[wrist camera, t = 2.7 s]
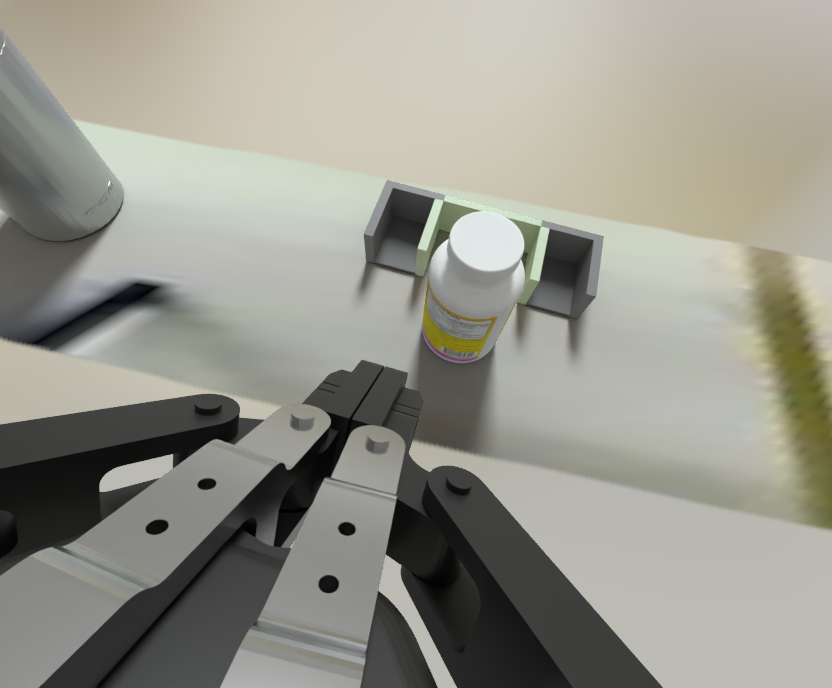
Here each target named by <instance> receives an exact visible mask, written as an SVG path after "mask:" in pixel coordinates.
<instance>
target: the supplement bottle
mask: <svg viewBox="0 0 832 688" xmlns="http://www.w3.org/2000/svg"><path fill="white" fill-rule="evenodd" d="M523 252H524V239H523V236H522V233H521V231H520V230H519V228H518V227H517V226H516V225H515V224H514V223H513V222H512V221H511V220H509V219H508V218H506V217H504V216H502V215H500V214H497V213H493V212H487V211H479V212H473V213H470V214H467V215H465V216H463V217H461V218H460V219H459V220H458V221H457V222H456V223H455V224H454V226H453V227H452V229H451V232H450V235H449V239H447V240H446V241H445V242H443V243H442V244H441V245H440V246H439V247H438V249H437V250H436V251H435V253H434V255H433V257H432V259H431V263H430V267H429V274H428V283H427V291H426V298H425V306H424V314H423V323H422V330H423V336H424V339H425V341H426V343H427V345H428V346H429V348H430V349H431V350H432V351H433V352H434V353H435V354H436V355H438V356H439V357H441V358H443V359H445V360H447V361H450V362H454V363H469V362H473V361H476V360H479V359H481V358H482V357H484V356H485V355H486V354H487V353H488V352H489V351H490V350H491V349H492V347H493V346H494V344H495V343H496V341H497V339H498V337H499V335H500V333H501V331H502V329H503V327H504V325H505V323H506V321H507V319H508V317H509V316H510V314H511V312H512V310H513V308H514V306H515V304H516V302H517V301H518V299H519V297H520V295H521V292H522V290H523V287H524V282H525V271H524V266H523V263H522V260H521V258H522V255H523Z"/></svg>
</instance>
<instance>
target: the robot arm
mask: <svg viewBox="0 0 832 688" xmlns="http://www.w3.org/2000/svg"><path fill="white" fill-rule="evenodd" d="M122 200H123V189H122V186H121V184H120V182H119V181H118V179H117V178H116V177H115V175H114V174H113V173H112V171H111V170H110V169H109V167H108V166H107V165H106V163H105V162H104V161H103V160H102V158H101V157H100V156H99V154H98V153H97V152H96V150H95V149H94V147H93V146H92V145H91V143H90V142H89V141H88V140H87V138H86V137H85V136H84V134H83V133H82V132H81V130H80V129H79V128H78V127H77V125H76V124H75V123H74V121H73V120H72V119H71V117H70V116H69V115H68V113H67V112H66V111H65V110H64V108H63V107H62V106H61V104H60V103H59V102H58V101H57V99H56V98H55V96H54V95H53V94H52V93H51V91H50V90H49V89H48V87H47V86H46V85H45V83H44V82H43V81H42V80H41V78H40V77H39V76H38V74H37V73H36V72H35V70H34V69H33V68H32V66H31V65H30V64H29V63H28V61H27V60H26V59H25V57H24V56H23V55H22V53H21V52H20V51H19V50H18V48H17V47H16V46H15V44H14V43H13V42H12V41H11V39H10V38H9V36H8V35H7V34H6V32H5V31H4V30H3V29H2V27H1V26H0V209H1V210H2V211H4V212H5V213H6V214H7V215H8V216H10V217H11V218H12V219H13V220H14V221H15V222H17V223H18V224H19V225H20V226H21V227H23V228H24V229H25V230H26V231H27V232H29V233H30V234H32V235H34V236H35V237H37V238H41V239H44V240H50V241H67V240H72V239H77V238H81V237H83V236H86V235H89V234H91V233H93V232H95V231H97V230H98V229H100V228H102V227H103V226H104V225H105V224H107V223H108V222H109V221H110V220H111V219H112V218H113V217H114V216H115V215H116V213H117V212H118V210H119V208H120V207H121V203H122ZM407 375H408V373H407V372H403V371H400V370H396V369H393V368H389V367H385V368H384V366H382V365H378V364H375V363H371V362H368V361H364V360H361V362H360V363H359V364H358V365H357V366H356V368H355V369H354V370H353V371H352V372H349V371H345V370H339V371H337V372H334V373H331V374H329V375H328V376H327V377H326V379H325V380H324V381H323V383H321V384H320V385H319V386H318V387H317V389H315V390H314V391H313V392H312V394H311V395H310V396H309V397H308V398H307V399H306V400H305V401H304V402H303V403H302V404H292V405H287V406H284V407H281V408H280V409H278V410H277V411H275V412H274V413H273V414H272V415H271V416H269V417H268V418H267V419H266V420H259V419H248V418H239V413H240V407H239V405H238V403H237V402H236V401H234V400H233V399H231V398H229V397H226V396H223V395H217V394H200V395H193V396H187V397H179V398H173V399H166V400H160V401H153V402H146V403H140V404H133V405H127V406H120V407H113V408H108V409H100V410H94V411H87V412H81V413H75V414H67V415H61V416H54V417H47V418H41V419H34V420H28V421H21V422H14V423H8V424H2V425H0V688H438V687H437V685H436V683H435V680H434V678H433V676H432V674H431V672H430V669H429V667H428V665H427V662H426V660H425V658H424V656H423V654H422V651H421V649H420V647H419V644H418V642H417V640H416V638H415V636H414V634H413V632H412V630H411V628H410V627H409V625H408V623H407V622H406V620H405V619H404V617H403V616H402V614H401V613H400V612H399V610H398V609H397V608H396V607H395V606H394V605H393V604H392V603H391V601H390V600H389V599H388V598H386V597H385V596H384V595H383V594H382V593H380V592H379V591H378V589H379V584H380V579H381V574H382V569H383V564H384V559H385V554H386V555H387V556H389V557H391V558H392V559H393V560H395V561H396V562H398V563H399V564H401V565H402V566H401V578H402V581H403V583H404V585H405V587H406V589H407V591H408V593H409V595H410V597H411V599H412V601H413V603H414V605H415V606H416V608H417V610H418V612H419V614H420V616H421V618H422V620H423V622H424V624H425V626H426V628H427V630H428V632H429V634H430V636H431V638H432V640H433V642H434V643H435V645H436V647H437V649H438V651H439V653H440V655H441V657H442V659H443V661H444V663H445V665H446V667H447V669H448V671H449V673H450V675H451V676H452V678H453V680H454V682H455V684H456V686H457V688H662V686H661V685H660V684H659V683H658V682H657V680H656V679H655V678H654V677H653V676H652V675H651V674H650V673H649V671H648V670H647V669H646V668H645V667H644V666H643V664H642V663H641V662H640V661H639V660H638V659H637V658H636V656H635V655H634V654H633V653H632V652H631V651H630V650H629V649H628V647H627V646H626V645H625V644H624V643H623V642H622V640H621V639H620V638H619V637H618V636H617V635H616V634H615V633H614V631H613V630H612V629H611V628H610V627H609V626H608V625H607V623H606V622H605V621H604V620H603V619H602V618H601V617H600V615H599V614H598V613H597V612H596V611H595V610H594V609H593V607H592V606H591V605H590V604H589V603H588V602H587V601H586V599H585V598H584V597H583V596H582V595H581V594H580V593H579V591H578V590H577V589H576V588H575V587H574V586H573V585H572V583H571V582H570V581H569V580H568V579H567V578H566V577H565V575H564V574H563V573H562V572H561V571H560V570H559V569H558V567H557V566H556V565H555V564H554V563H553V562H552V561H551V560H550V558H549V557H548V556H547V555H546V554H545V553H544V551H543V550H542V549H541V548H540V547H539V546H538V545H537V543H536V542H535V541H534V540H533V539H532V538H531V537H530V536H529V534H528V533H527V532H526V531H525V530H524V529H523V528H522V527H521V525H520V524H519V523H518V522H517V521H516V520H515V519H514V517H513V516H512V515H511V514H510V513H509V512H508V510H507V509H506V508H505V507H504V506H503V505H502V504H501V502H500V501H499V500H498V499H497V498H496V497H495V496H494V495H493V493H492V492H491V491H490V490H489V489H488V488H487V486H486V485H485V484H484V483H483V482H482V481H481V480H480V479H479V478H478V477H477V476H475V475H474V474H472V473H471V472H469V471H467V470H465V469H462V468H459V467H455V466H440V467H437V468H435V469H433V470H432V471H431V472H428V471H426V470H424V469H423V468H421V467H420V466H419V465H417V464H416V463H415V462H414V461H413V460H412V458H411V457H410V455H409V450H410V447H411V444H412V440H413V437H414V433H415V429H416V426H417V422H418V418H419V414H420V411H421V407H422V403H423V400H422V397H421V395H420V393H419V392H418V391H414V390H411V389H408V388H405V384H406V380H407ZM170 454H173V469H172V470H171V471H169V472H168V473H166V474H165V475H164V476H163V477H161V478H158V479H154V480H151V481H147V482H143V483H139V484H135V485H131V486H128V487H124V488H120V489H116V490H112V491H108V492H99V483H100V480H101V479H102V477H103V476H104V475H105V474H106V473H107V472H109V471H110V470H112V469H114V468H116V467H119V466H123V465H127V464H131V463H136V462H140V461H144V460H149V459H152V458H157V457H162V456H165V455H170ZM295 539H296V540H295ZM294 541H295V542H294ZM293 542H294V544H293ZM292 544H293V546H292V548H290V547H291V545H292Z"/></svg>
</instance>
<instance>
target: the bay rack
mask: <svg viewBox="0 0 832 688" xmlns="http://www.w3.org/2000/svg"><path fill="white" fill-rule="evenodd" d="M479 211H487V212H493V213H497V214H500V215H502V216H504V217H506V218H508V219H509V220H511V221H512V222H513V223H514V224H515V225H516V226H517V227H518V228H519V230H520V231H521V233H522V236H523V239H524V252H525V253H528V254H527V259H526V264H525V268H524V271H525V282H524V287H523V290H522V292H521V295H520V297H519V299H518V301H517V303H520V304H524V305H528V306H531V307H535V308H539V309H542V310H546V311H550V312H553V313H557V314H561V315H564V316H568V317H572V318H575V319H577V318H578V317H579V316H580V315H581V313H582V312H583V311H584V310H585V309H586V308H587V306H588V305H589V304H590V303H591V302H592V301H593V299H594V298H595V297H596V292H597V285H598V277H599V269H600V261H601V253H602V245H603V237H604V236H600V235H597V234H593V233H589V232H585V231H581V230H577V229H573V228H570V227H566V226H562V225H558V224H554V223H550V222H547V221H543V220H539V219H535V218H531V217H527V216H523V215H520V214H516V213H512V212H508V211H504V210H500V209H496V208H493V207H489V206H485V205H481V204H477V203H473V202H469V201H466V200H462V199H458V198H454V197H450V196H446V195H443V194H439V193H435V192H431V191H427V190H423V189H419V188H416V187H412V186H408V185H404V184H400V183H396V182H392V181H389V180H387V181H386V183H385V186H384V188H383V190H382V193H381V195H380V197H379V200H378V202H377V205H376V207H375V209H374V212H373V214H372V216H371V219H370V221H369V223H368V226H367V228H366V230H365V233H364V241H365V252H366V261H367V262H371V263H374V264H378V265H382V266H385V267H389V268H393V269H396V270H400V271H404V272H407V273H411V274H415V275H418V276H422V277H423V276H424V273H425V270H426V267H427V264H428V261H429V258H430V255H431V252H432V249H433V246H434V243H435V240H436V237H437V234H438V231H439V230H442V231H446V232H449V233H450V232H451V229H452V227H453V226H454V224H455V223H456V222H457V221H458V220H459V219H460V218H461V217H463V216H465V215H467V214H470V213H473V212H479Z"/></svg>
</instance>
